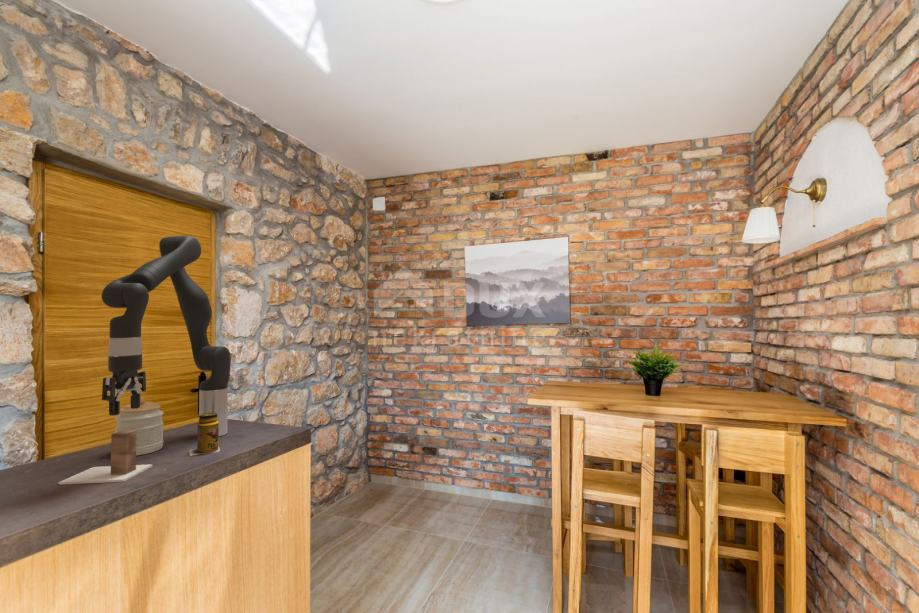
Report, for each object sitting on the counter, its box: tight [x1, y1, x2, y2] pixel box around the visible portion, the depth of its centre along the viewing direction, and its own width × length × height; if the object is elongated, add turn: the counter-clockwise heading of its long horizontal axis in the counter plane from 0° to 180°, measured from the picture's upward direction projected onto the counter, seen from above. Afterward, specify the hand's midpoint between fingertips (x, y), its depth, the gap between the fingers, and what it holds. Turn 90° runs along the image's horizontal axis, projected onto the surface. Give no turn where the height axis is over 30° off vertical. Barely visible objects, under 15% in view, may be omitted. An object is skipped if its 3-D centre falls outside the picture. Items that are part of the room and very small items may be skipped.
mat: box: [58, 464, 153, 485], centre depth 117 cm, size 12×16×1 cm
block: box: [110, 430, 137, 475], centre depth 118 cm, size 4×4×11 cm
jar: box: [114, 396, 165, 456], centre depth 140 cm, size 13×13×18 cm
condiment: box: [189, 413, 221, 457], centre depth 139 cm, size 7×8×12 cm
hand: (125, 411), depth 119 cm, fingers open, 8 cm apart
